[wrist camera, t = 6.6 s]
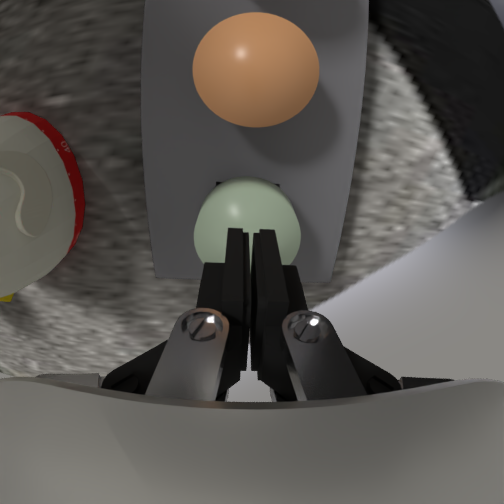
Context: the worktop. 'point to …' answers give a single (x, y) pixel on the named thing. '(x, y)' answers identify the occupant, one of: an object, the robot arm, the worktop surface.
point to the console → (249, 129)
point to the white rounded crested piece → (35, 200)
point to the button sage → (245, 218)
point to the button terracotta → (256, 69)
